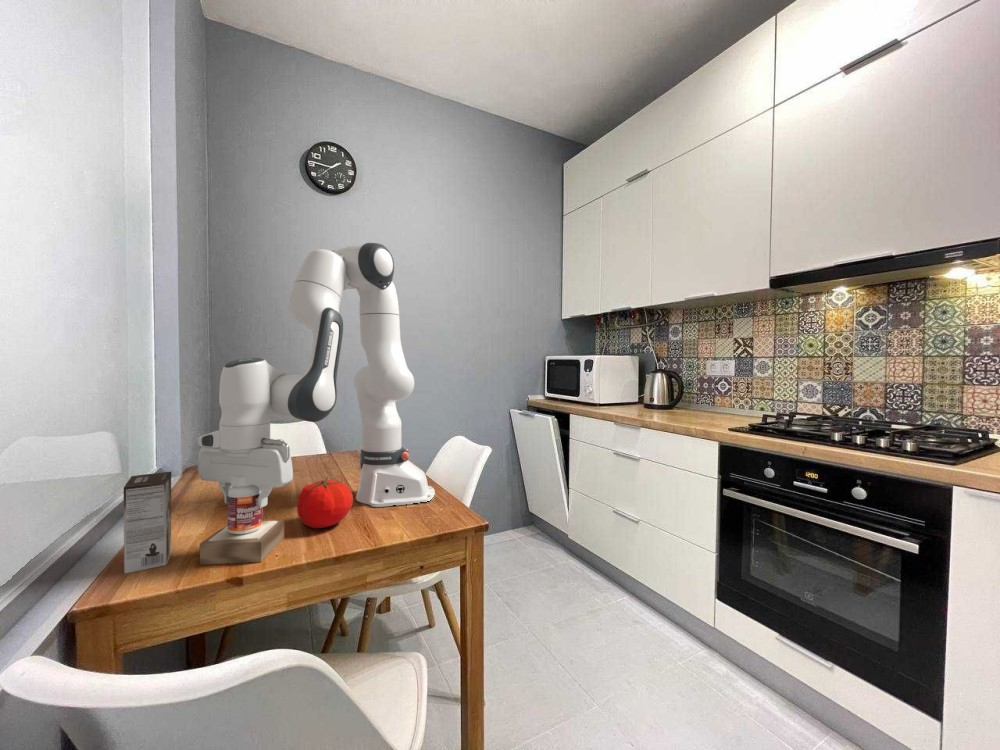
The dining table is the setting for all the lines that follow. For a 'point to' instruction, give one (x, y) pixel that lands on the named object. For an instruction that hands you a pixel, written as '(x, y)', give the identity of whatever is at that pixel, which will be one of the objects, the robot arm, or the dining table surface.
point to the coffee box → (147, 521)
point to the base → (241, 544)
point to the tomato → (324, 503)
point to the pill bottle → (243, 507)
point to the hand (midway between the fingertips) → (245, 504)
